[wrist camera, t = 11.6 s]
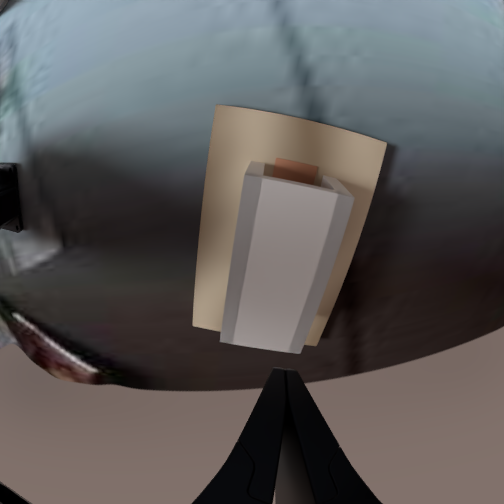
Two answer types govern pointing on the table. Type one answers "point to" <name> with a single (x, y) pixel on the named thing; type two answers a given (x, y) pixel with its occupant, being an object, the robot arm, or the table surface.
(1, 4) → the energy drink can
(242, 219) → the plug housing
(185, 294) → the table surface
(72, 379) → the table surface
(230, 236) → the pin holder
